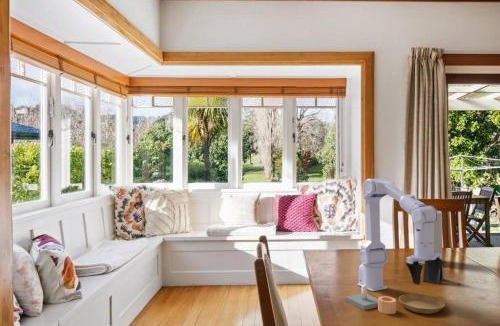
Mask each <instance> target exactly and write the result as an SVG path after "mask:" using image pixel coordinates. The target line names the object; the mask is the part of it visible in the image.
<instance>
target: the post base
mask: <svg viewBox="0 0 500 326" xmlns="http://www.w3.org/2000/svg"><path fill="white" fill-rule="evenodd" d="M345 302H347V303H349V304H351V305H353V306H355V307H356V308H359V309H360V310H363V311H367V310H371V309H376V308H378V298H377V297H375V296H372V295H370V294H368V289H367V286H366V285H363V286H362V287H361V293H357V294H353V295H348V296H347V295H346V296H345Z"/></svg>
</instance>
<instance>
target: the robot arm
mask: <svg viewBox="0 0 500 326" xmlns="http://www.w3.org/2000/svg"><path fill="white" fill-rule="evenodd" d="M362 194H363V195H362V196H363V202H364V203H363V204H364V222H365V241H364V242H363V243H362V244H361V245H360V247H359V248H360V250H359V256H358V257H359V260H360V262H361V264H360V265H359V267H358V283H357V284H356V285H357V286H359V287H361V288H362V286H363V285H366V286H367V291H368V290H369V291H371V292H377V291H381V290H382V291H383V290H387V289H389V288H388V286H385V285H384V266H385V263H387V261H388V253H387V249H386V245H385V244H384V243H383V242H382V241H381V236H380V235H381V233H380V231H381V230H380V215H379V213H380V212H379V211H380V210H379V201H380V200H381V199H382V198H384V197H386V196H389V197H391V198H392V199H394V200H395V201H396V202H398V203H399V206H400V208H401V209H402V210H404V211H405V212H406V213H407V214H408V215H409V216H410V217H411V220H412V222H413V228H414V227H415V254H412V255H409V256H406V261H405V265H406V267H407V268H408V270H409V273H410V275H411V279H412V283H413V284H414V285H418V286H419V285H420V284H421V277H422V276H421V274H422V270H423V269H424V264H421V263H418V262H422V261H426V262H427V265H428V273H429V280H431V281H436V278H437V274H438V271H439V269H440V267H441V266H442V267H443V264H444V260H443V252H442V253H438V252H434V222H436V221H437V218H438V213H437V211H438V210H437V209H436V207H434V206H433V205H426V204H425V202H422V201H420V200H419V199H417V198H416V196H415V194H405V193H404V192H403V191H402V190H401V189H400V188H399V187H397V186H396V185H395V182H394V180H391V178H389V177H385V178H367V179H366V180H365V181H364V182H363V183H362ZM439 259H442V260H439Z"/></svg>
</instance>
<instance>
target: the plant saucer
mask: <svg viewBox="0 0 500 326" xmlns="http://www.w3.org/2000/svg"><path fill="white" fill-rule="evenodd" d="M398 301H399V302H400V303H401V304H402V305H403V306H404V308H406V309H407V310H409V311H411V312H413V313H420V314H429V315H430V314H436V313H438V312H440V311H441V310H442V309H443V308H444V307H445V306H446V303H445V302H444V300H442V299H440V298H439V297H436V296H432V295H427V294H421V293H405V294H402V295H400V296H399V297H398Z"/></svg>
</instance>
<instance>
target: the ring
mask: <svg viewBox="0 0 500 326" xmlns="http://www.w3.org/2000/svg"><path fill="white" fill-rule="evenodd" d="M377 299H378V307H377V310H378V312H379V313H382V314H385V315H395V314H396V313H397V299H396V298H394V297H392V296H387V295H386V296H379V297H378V298H377Z"/></svg>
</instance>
